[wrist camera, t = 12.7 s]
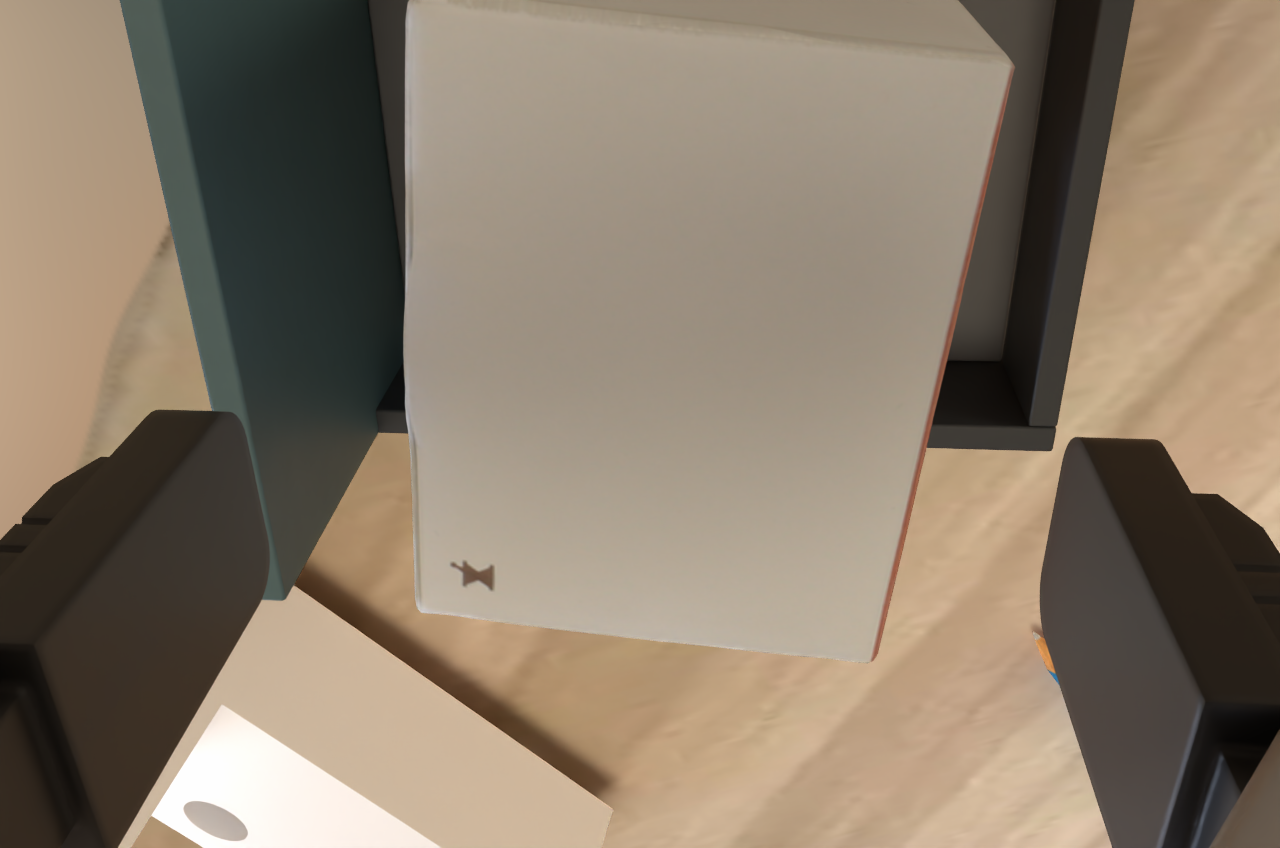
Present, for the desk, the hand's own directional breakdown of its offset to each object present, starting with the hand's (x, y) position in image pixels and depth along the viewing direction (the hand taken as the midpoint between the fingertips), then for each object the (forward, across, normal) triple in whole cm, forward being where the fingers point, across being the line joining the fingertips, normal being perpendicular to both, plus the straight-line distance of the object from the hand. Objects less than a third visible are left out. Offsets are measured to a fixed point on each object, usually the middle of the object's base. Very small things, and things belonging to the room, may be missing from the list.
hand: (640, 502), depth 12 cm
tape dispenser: (+22, +14, +26) cm, 37 cm away
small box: (+15, 0, 0) cm, 16 cm away
